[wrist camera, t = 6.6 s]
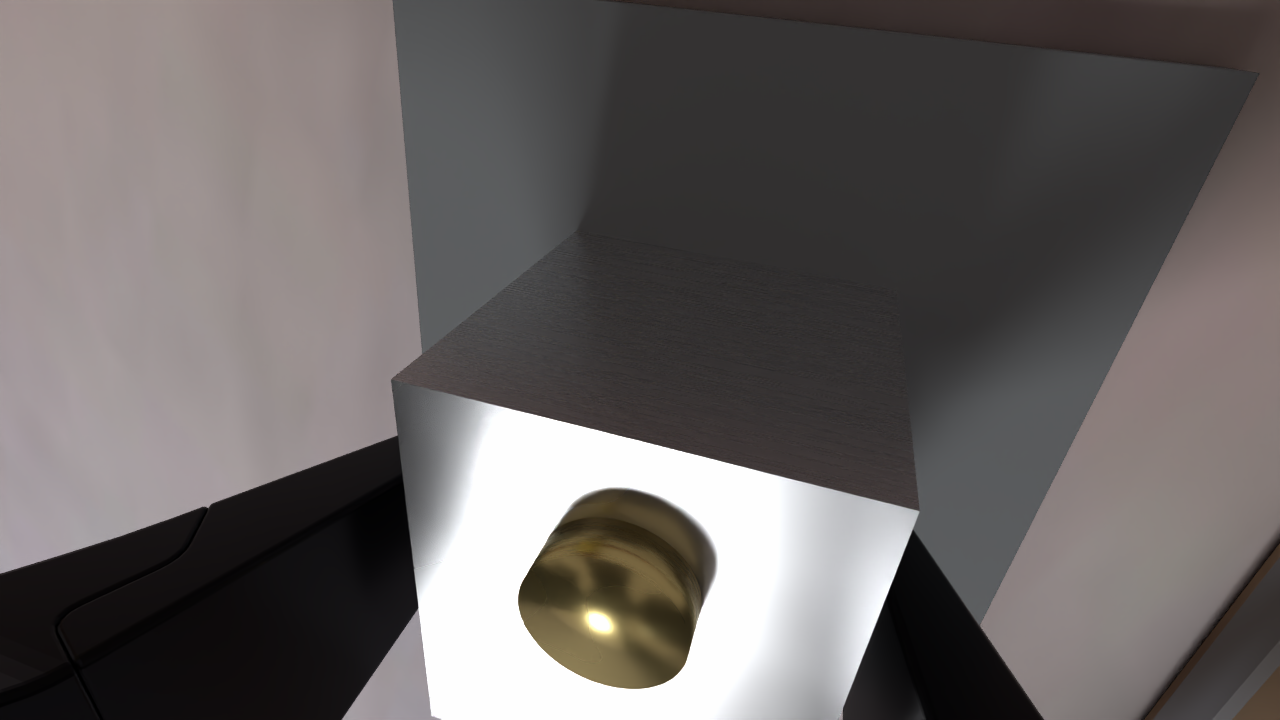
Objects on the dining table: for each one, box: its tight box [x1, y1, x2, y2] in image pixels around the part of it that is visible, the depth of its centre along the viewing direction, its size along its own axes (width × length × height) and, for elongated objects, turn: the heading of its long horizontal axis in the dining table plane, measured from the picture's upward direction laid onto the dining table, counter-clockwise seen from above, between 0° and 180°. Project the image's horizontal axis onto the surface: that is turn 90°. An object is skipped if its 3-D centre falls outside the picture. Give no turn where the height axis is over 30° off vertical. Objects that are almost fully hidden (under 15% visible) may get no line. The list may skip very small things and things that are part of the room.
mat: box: [393, 0, 1259, 626], centre depth 11 cm, size 11×10×1 cm
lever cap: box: [391, 230, 920, 720], centre depth 8 cm, size 5×4×5 cm
